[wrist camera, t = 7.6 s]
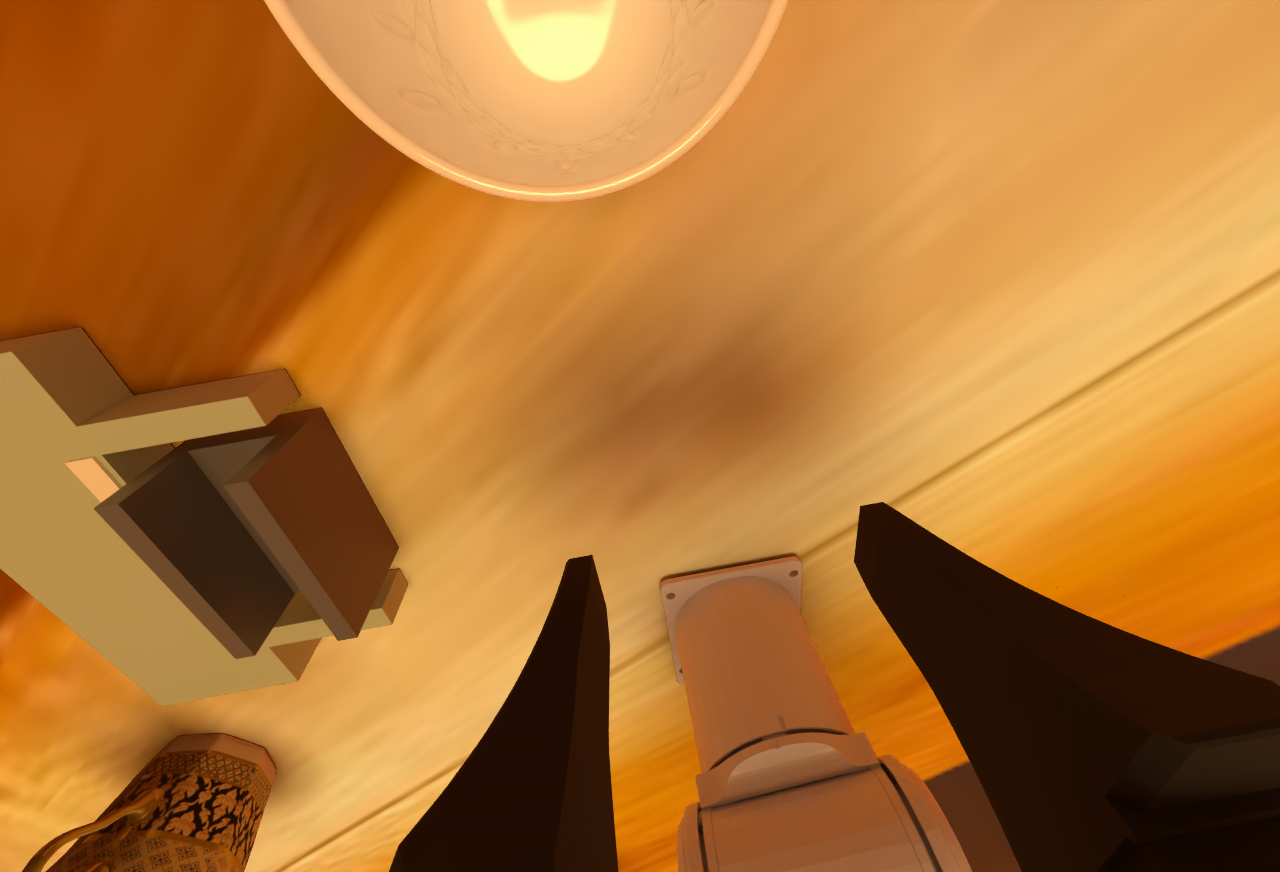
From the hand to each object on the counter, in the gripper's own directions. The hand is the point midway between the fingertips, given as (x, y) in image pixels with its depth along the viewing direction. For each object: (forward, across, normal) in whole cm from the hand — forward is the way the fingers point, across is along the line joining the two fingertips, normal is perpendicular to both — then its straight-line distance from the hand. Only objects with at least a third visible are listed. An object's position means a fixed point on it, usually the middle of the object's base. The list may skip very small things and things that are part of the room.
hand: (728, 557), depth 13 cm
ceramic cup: (+10, +32, +19) cm, 39 cm away
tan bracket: (+10, +21, +2) cm, 23 cm away
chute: (+10, +17, +2) cm, 20 cm away
